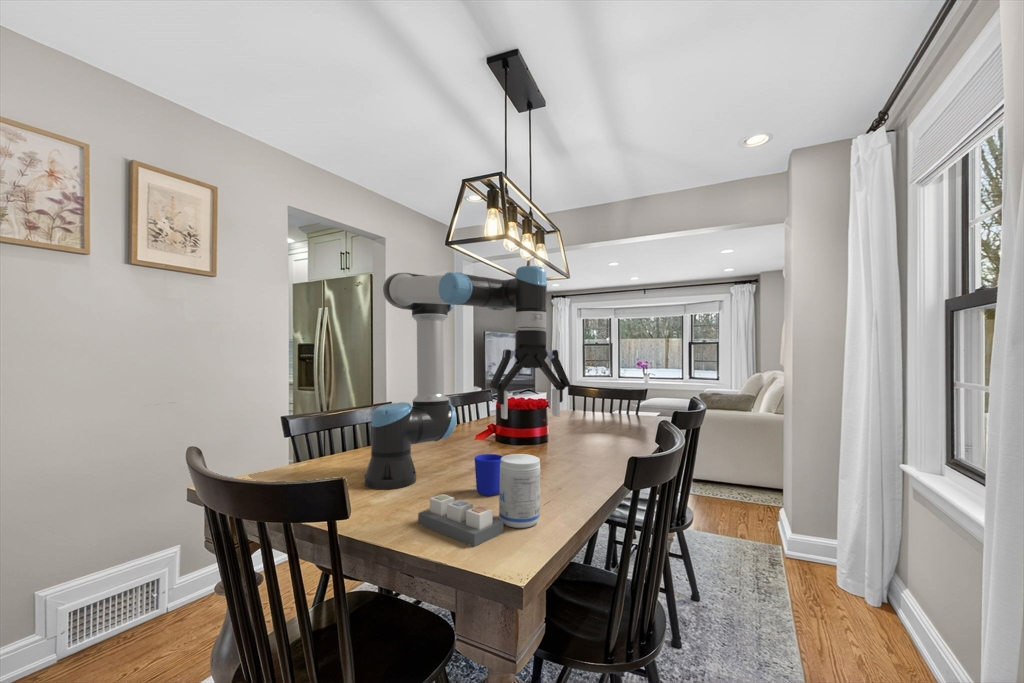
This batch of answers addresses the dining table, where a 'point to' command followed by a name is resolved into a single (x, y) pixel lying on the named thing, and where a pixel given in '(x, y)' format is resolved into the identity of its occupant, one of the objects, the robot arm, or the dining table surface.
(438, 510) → the key
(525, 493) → the supplement tub
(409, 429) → the robot arm
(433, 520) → the keypad base
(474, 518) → the key
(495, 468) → the mug
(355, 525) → the dining table surface
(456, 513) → the key
